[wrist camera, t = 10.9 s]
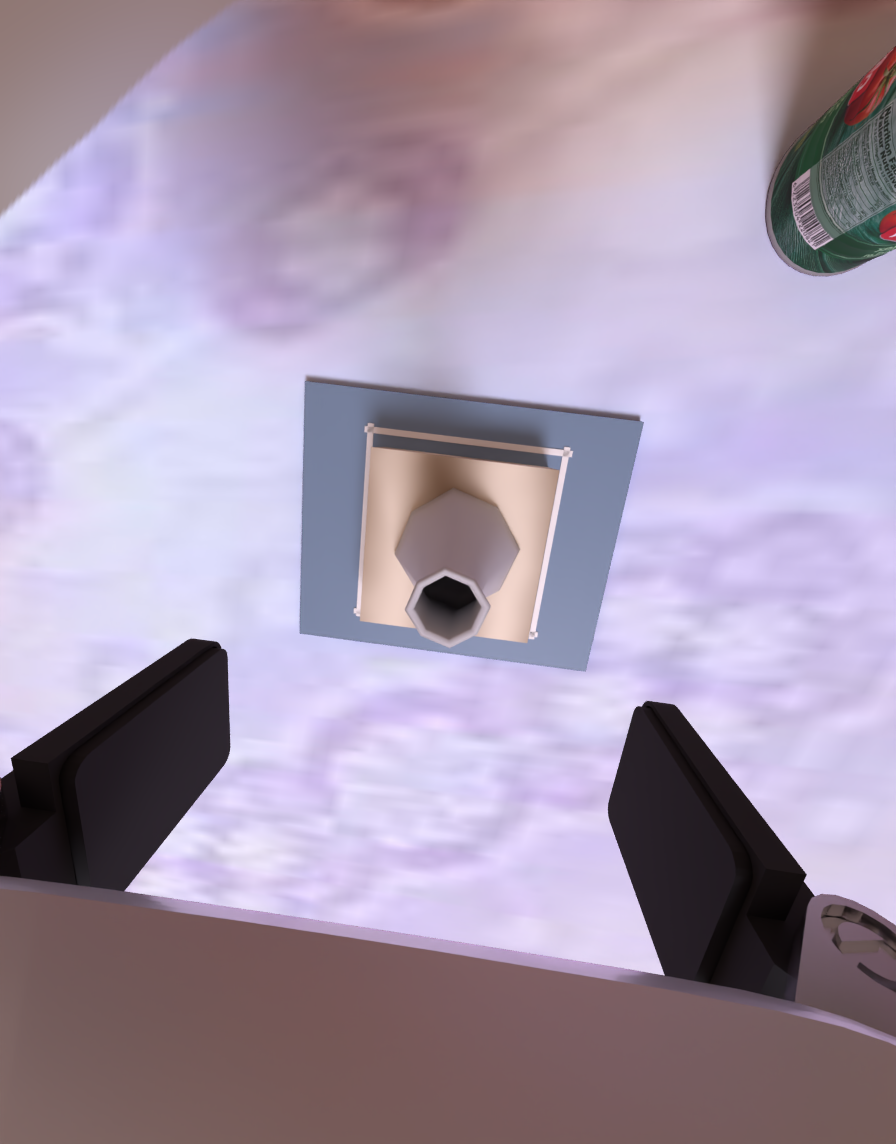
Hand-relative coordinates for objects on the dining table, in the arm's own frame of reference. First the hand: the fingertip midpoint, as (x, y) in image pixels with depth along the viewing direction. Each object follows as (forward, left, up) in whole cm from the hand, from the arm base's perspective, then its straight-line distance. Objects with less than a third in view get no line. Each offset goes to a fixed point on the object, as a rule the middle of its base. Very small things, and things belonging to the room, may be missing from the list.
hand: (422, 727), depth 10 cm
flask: (0, 0, -18) cm, 18 cm away
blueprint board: (0, 0, -22) cm, 22 cm away
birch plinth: (0, 0, -22) cm, 22 cm away
